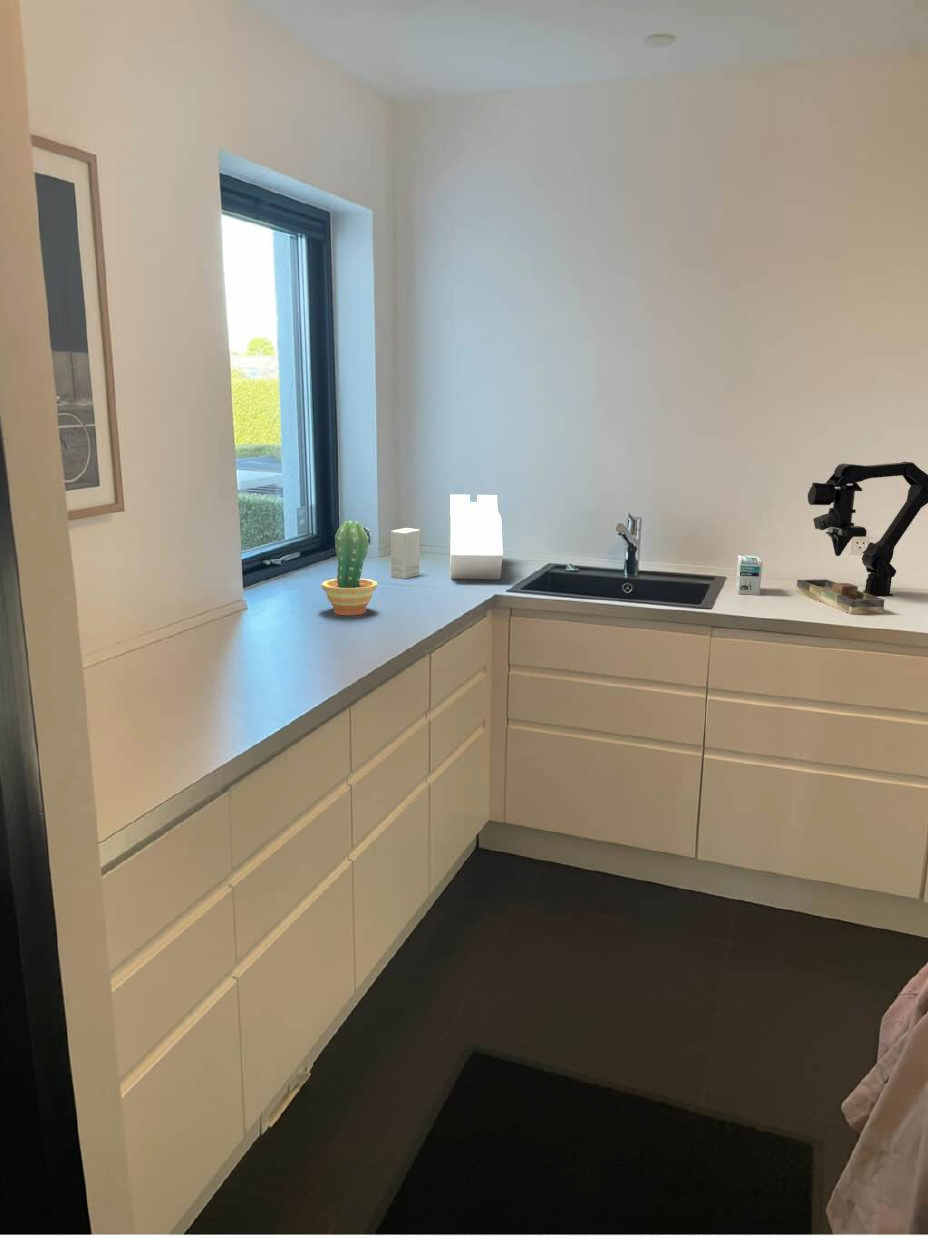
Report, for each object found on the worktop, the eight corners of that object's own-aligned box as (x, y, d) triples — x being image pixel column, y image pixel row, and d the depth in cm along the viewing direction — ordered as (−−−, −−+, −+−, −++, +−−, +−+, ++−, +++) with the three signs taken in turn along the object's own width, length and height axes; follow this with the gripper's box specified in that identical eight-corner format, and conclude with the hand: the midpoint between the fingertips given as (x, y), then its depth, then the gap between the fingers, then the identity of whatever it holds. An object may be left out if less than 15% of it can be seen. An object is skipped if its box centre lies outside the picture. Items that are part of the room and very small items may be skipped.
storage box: (502, 555, 292) (499, 470, 310) (451, 554, 291) (451, 469, 310) (497, 600, 314) (494, 518, 333) (449, 599, 314) (449, 517, 332)
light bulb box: (760, 595, 284) (763, 561, 282) (737, 594, 286) (740, 560, 283) (756, 588, 295) (759, 555, 292) (734, 587, 296) (737, 554, 293)
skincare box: (405, 573, 311) (405, 527, 307) (421, 575, 307) (421, 529, 303) (389, 576, 304) (389, 530, 301) (405, 579, 301) (405, 532, 297)
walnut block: (846, 596, 276) (848, 583, 275) (856, 599, 271) (857, 586, 270) (831, 596, 275) (832, 583, 274) (840, 600, 270) (842, 586, 269)
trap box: (825, 591, 292) (826, 579, 291) (882, 613, 263) (884, 599, 262) (796, 592, 290) (797, 579, 289) (850, 614, 261) (852, 600, 260)
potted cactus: (383, 616, 250) (382, 524, 244) (326, 619, 246) (324, 526, 240) (372, 604, 265) (371, 517, 259) (318, 606, 260) (316, 518, 254)
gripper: (803, 502, 290) (797, 551, 294) (836, 509, 272) (830, 561, 276) (835, 501, 292) (830, 550, 296) (870, 509, 274) (864, 560, 278)
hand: (837, 555), depth 286 cm, fingers closed
